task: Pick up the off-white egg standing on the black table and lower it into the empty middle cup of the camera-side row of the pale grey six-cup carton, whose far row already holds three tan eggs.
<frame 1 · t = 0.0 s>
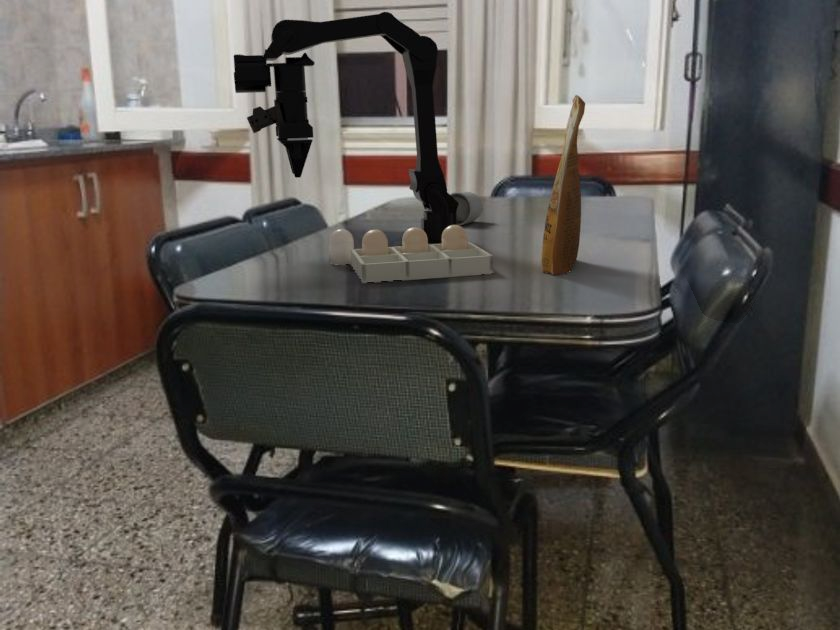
hand: (296, 175, 151), 15 cm above the table, fingers open, 9 cm apart
ceramic mug: (458, 224, 185), on the table
carton: (419, 269, 133), on the table
egg: (342, 263, 141), on the table
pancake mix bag: (563, 267, 133), on the table
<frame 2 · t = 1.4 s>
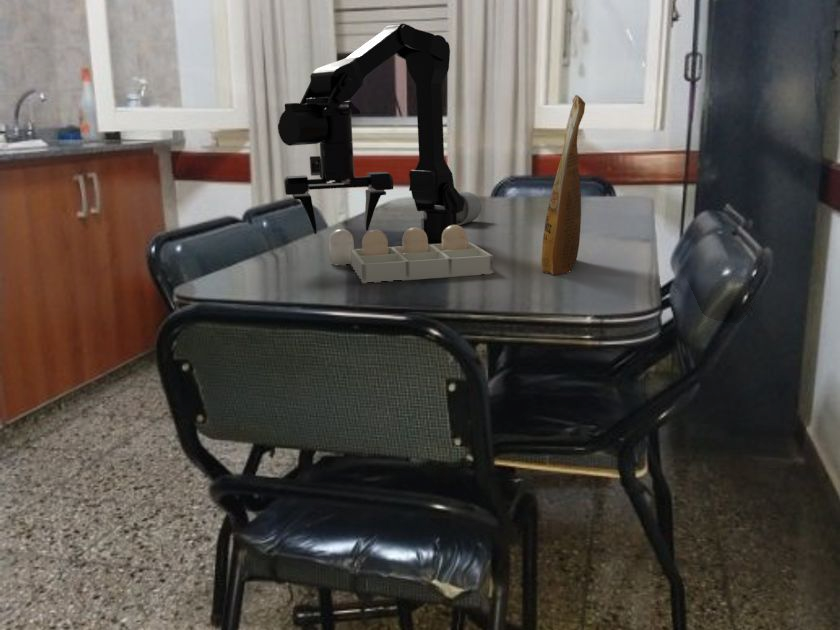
hand: (341, 231, 140), 6 cm above the table, fingers open, 9 cm apart
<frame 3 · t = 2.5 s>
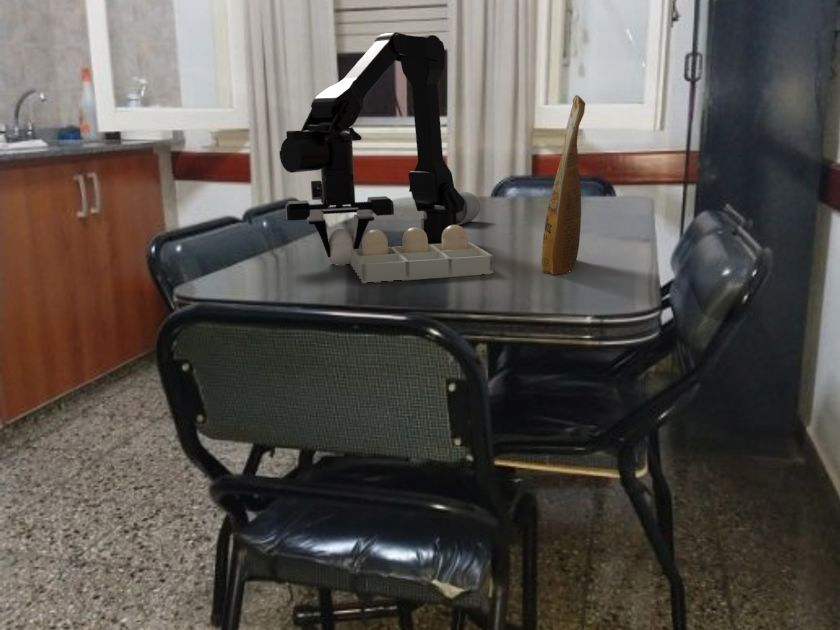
hand: (342, 256, 141), 1 cm above the table, fingers closed on egg, 4 cm apart
egg: (342, 263, 141), on the table, touching gripper
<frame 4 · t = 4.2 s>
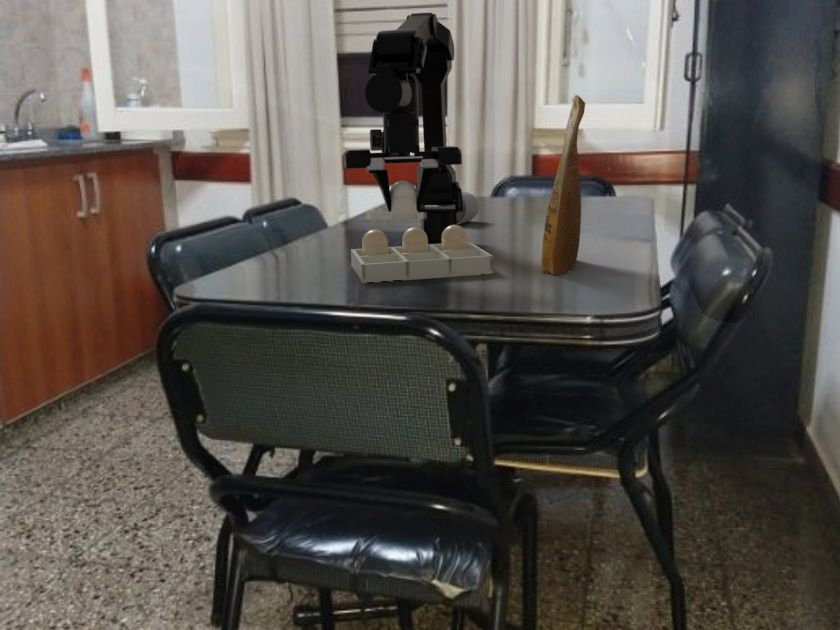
hand: (403, 210, 129), 10 cm above the table, fingers closed on egg, 4 cm apart
egg: (403, 218, 129), point 9 cm above the table, touching gripper
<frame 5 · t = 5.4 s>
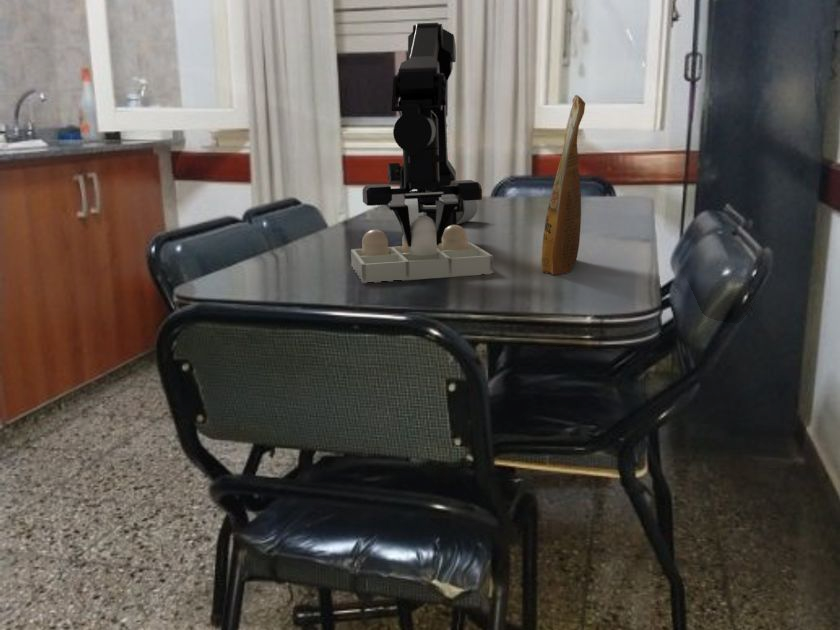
hand: (423, 245, 129), 5 cm above the table, fingers closed on egg, 4 cm apart
egg: (423, 253, 129), point 4 cm above the table, touching gripper
when the fingers open (3 cm above the table, at t = 6.0 s): egg drops 2 cm, resting on carton.
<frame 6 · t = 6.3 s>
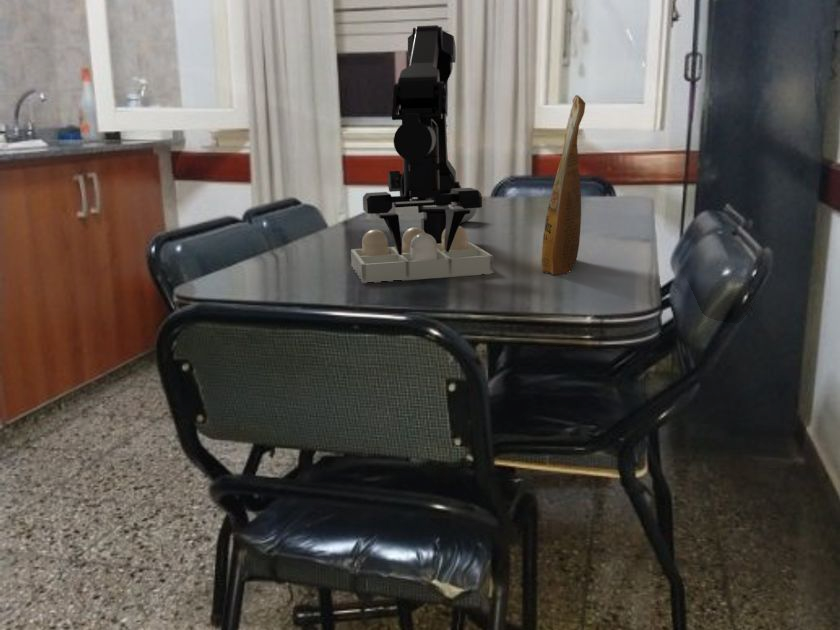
hand: (423, 253, 129), 3 cm above the table, fingers open, 8 cm apart
egg: (424, 270, 130), point 1 cm above the table, touching carton
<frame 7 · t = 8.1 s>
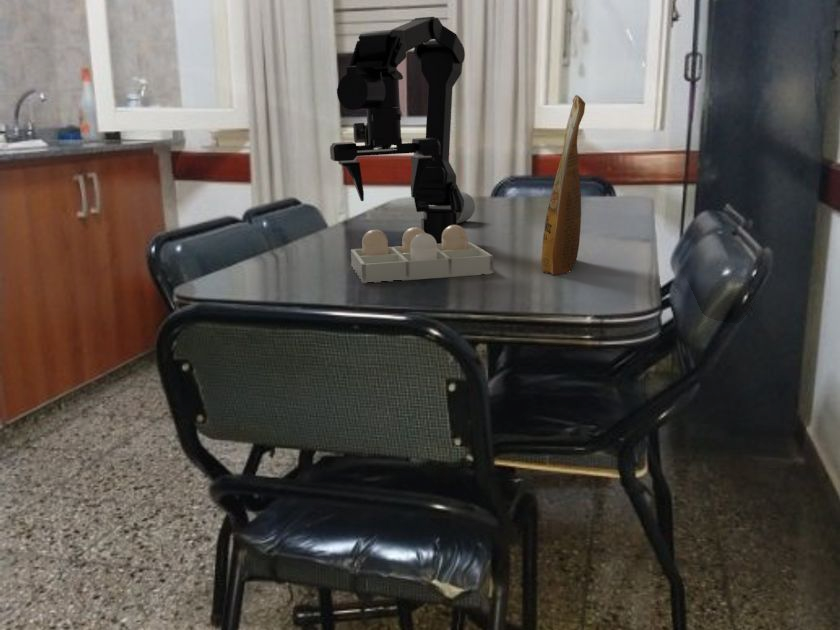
hand: (387, 199, 139), 11 cm above the table, fingers open, 9 cm apart
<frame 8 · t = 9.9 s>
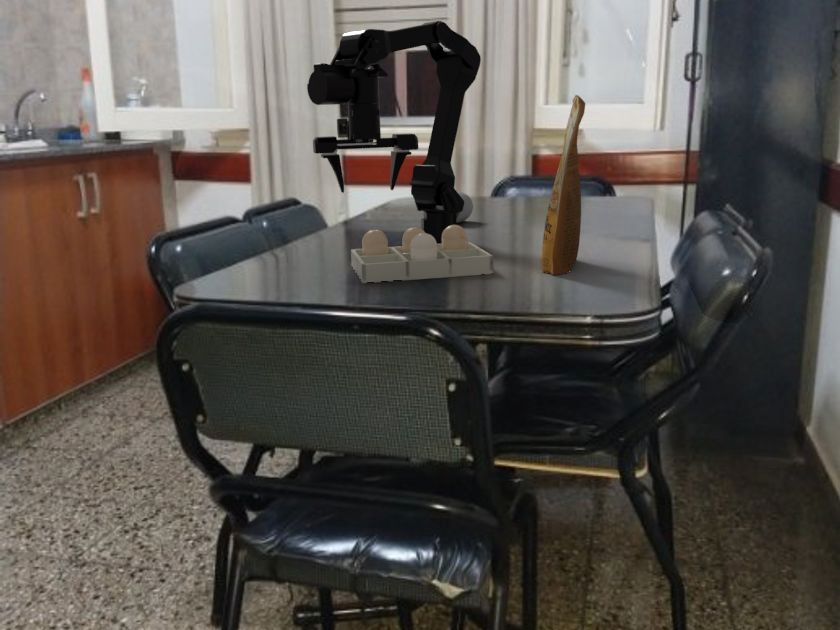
hand: (367, 191, 145), 12 cm above the table, fingers open, 9 cm apart
at the end: egg 0.0 cm from the target spot on the carton, point 0.6 cm above the carton's base; egg tilted 1°; the gripper is holding nothing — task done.
